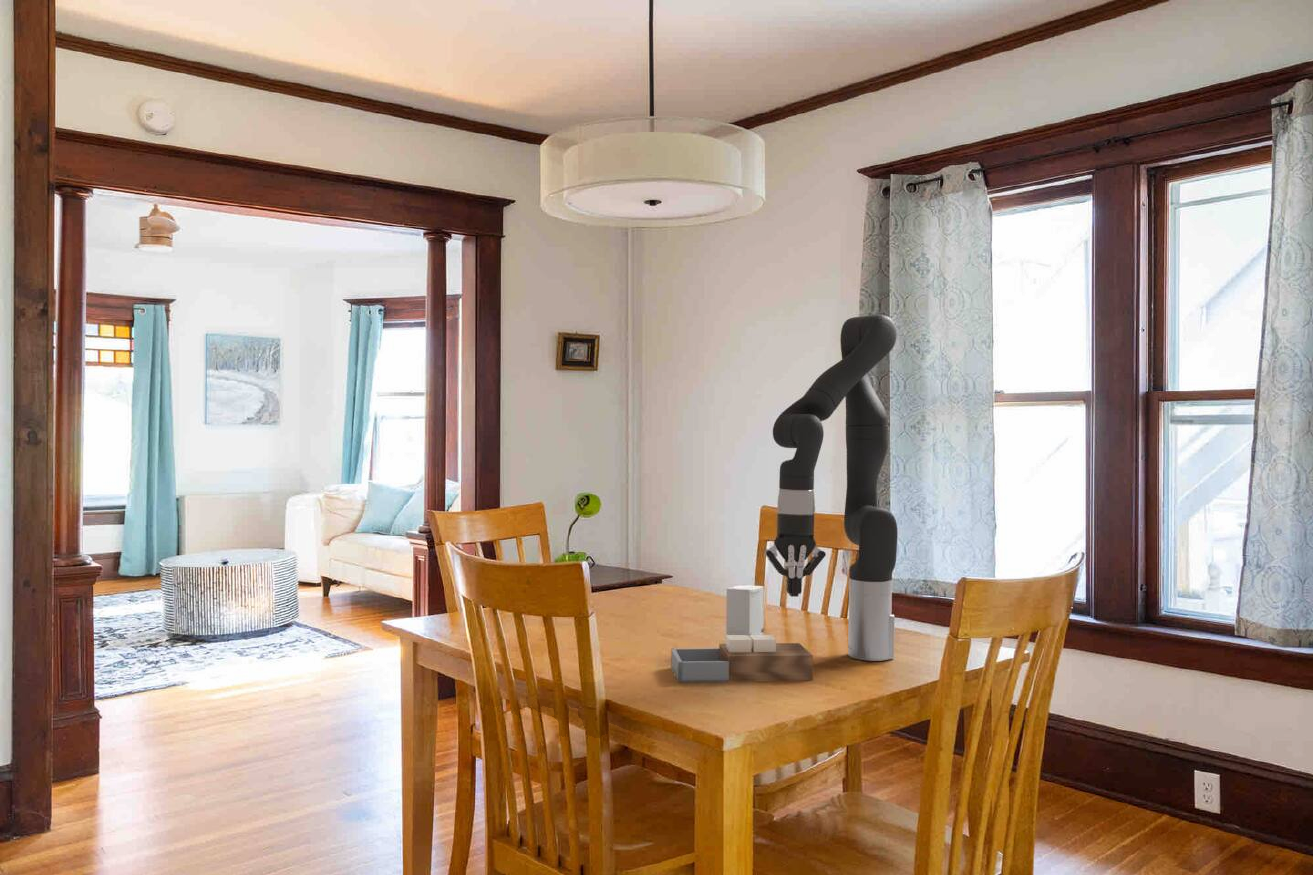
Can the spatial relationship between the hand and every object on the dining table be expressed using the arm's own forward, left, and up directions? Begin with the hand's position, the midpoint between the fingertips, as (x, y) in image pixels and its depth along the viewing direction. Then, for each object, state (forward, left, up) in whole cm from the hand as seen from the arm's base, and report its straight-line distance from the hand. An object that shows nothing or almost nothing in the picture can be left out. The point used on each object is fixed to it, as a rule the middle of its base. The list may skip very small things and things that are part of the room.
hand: (793, 595), depth 195 cm
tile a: (+6, 0, -11) cm, 13 cm away
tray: (+19, 0, -16) cm, 25 cm away
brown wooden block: (+6, 0, -16) cm, 17 cm away
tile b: (+11, 0, -11) cm, 16 cm away
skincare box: (+6, -18, -16) cm, 25 cm away
